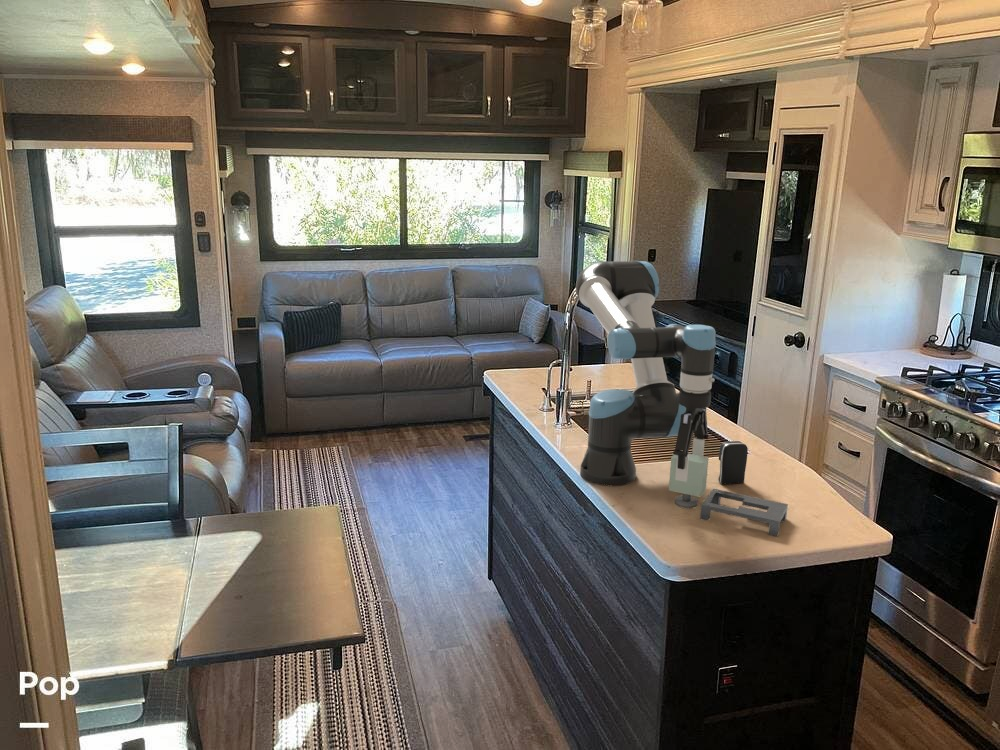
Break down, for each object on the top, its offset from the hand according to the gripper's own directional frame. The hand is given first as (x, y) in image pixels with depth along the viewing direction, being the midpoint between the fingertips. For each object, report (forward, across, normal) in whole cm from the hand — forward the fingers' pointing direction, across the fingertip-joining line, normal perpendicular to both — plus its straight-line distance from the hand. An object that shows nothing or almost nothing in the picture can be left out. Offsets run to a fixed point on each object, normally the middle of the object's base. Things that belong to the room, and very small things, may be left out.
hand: (689, 471), depth 195 cm
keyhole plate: (+9, -1, -14) cm, 17 cm away
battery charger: (+9, +20, -6) cm, 23 cm away
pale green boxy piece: (+9, 0, 0) cm, 9 cm away
